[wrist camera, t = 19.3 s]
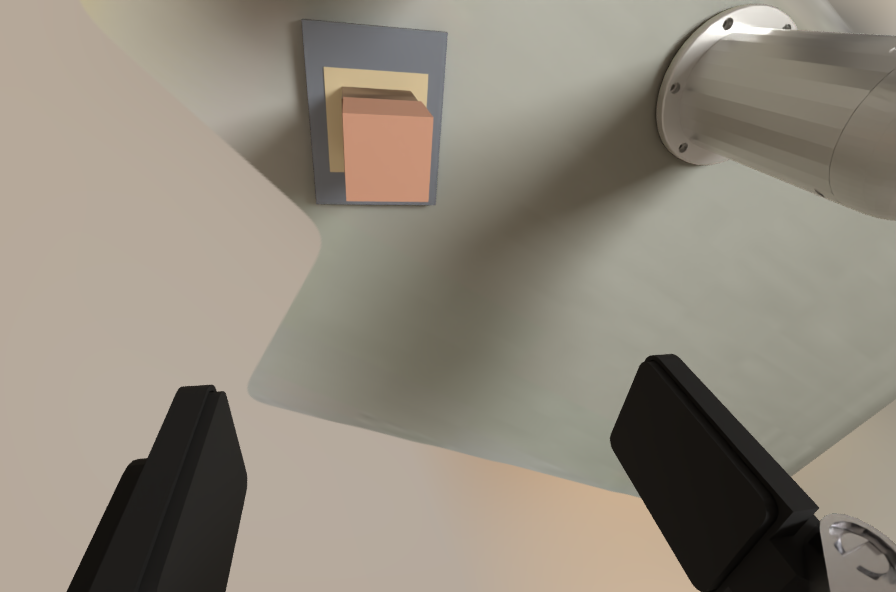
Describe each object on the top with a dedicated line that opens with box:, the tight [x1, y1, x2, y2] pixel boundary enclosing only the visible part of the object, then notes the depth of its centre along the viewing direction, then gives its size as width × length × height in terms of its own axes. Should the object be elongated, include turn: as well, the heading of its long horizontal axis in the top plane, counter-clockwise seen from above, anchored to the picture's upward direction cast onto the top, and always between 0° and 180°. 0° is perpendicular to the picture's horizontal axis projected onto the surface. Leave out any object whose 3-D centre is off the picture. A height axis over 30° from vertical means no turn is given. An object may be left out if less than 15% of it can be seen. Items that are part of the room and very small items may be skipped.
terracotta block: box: [342, 97, 434, 202], centre depth 28 cm, size 5×5×5 cm
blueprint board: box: [302, 19, 448, 205], centre depth 34 cm, size 10×13×1 cm
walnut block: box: [341, 86, 418, 172], centre depth 32 cm, size 5×5×5 cm
